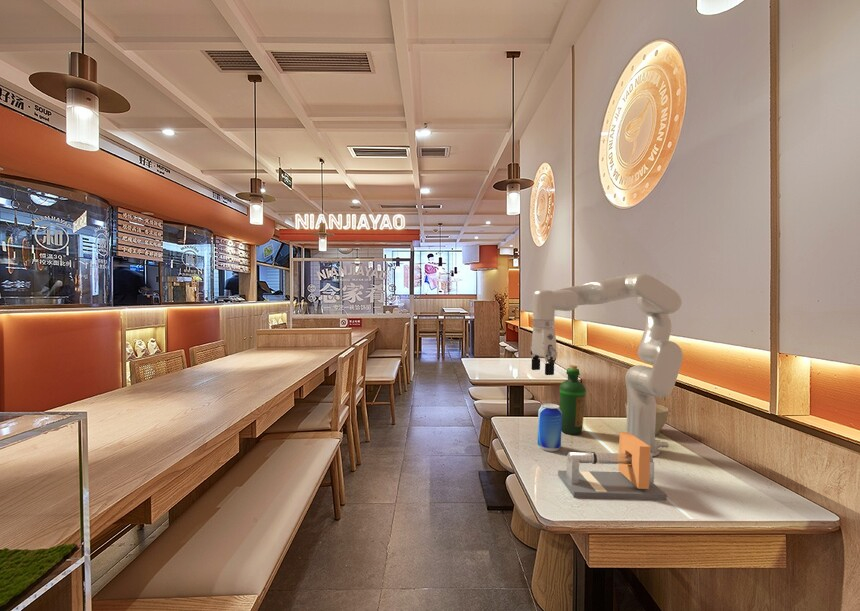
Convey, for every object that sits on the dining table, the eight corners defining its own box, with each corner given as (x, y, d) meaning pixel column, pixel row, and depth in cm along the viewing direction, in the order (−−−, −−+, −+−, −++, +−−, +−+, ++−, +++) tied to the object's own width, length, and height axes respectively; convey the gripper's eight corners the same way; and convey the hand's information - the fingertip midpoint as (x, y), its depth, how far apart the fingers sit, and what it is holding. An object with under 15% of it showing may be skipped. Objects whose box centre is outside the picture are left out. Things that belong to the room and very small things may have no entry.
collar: (627, 470, 124) (629, 432, 124) (648, 488, 112) (650, 446, 112) (618, 470, 124) (619, 432, 124) (638, 488, 112) (639, 446, 112)
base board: (640, 477, 125) (640, 472, 125) (666, 499, 111) (666, 493, 111) (557, 475, 125) (558, 469, 125) (573, 497, 111) (574, 491, 111)
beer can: (557, 444, 152) (559, 403, 152) (563, 453, 144) (564, 409, 143) (535, 443, 153) (536, 402, 153) (539, 451, 145) (540, 408, 144)
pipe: (645, 479, 120) (646, 451, 120) (653, 486, 116) (654, 456, 116) (566, 477, 121) (567, 449, 120) (571, 484, 116) (572, 454, 116)
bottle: (588, 436, 162) (590, 368, 161) (562, 435, 162) (564, 367, 162) (579, 428, 173) (581, 364, 172) (554, 427, 173) (556, 363, 172)
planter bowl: (627, 423, 181) (628, 399, 181) (668, 430, 172) (669, 406, 172) (621, 432, 168) (622, 407, 168) (665, 441, 159) (666, 414, 159)
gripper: (566, 326, 135) (565, 376, 135) (540, 323, 151) (539, 367, 152) (546, 326, 133) (545, 377, 133) (522, 323, 150) (521, 368, 150)
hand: (542, 372), depth 142 cm, fingers open, 9 cm apart
